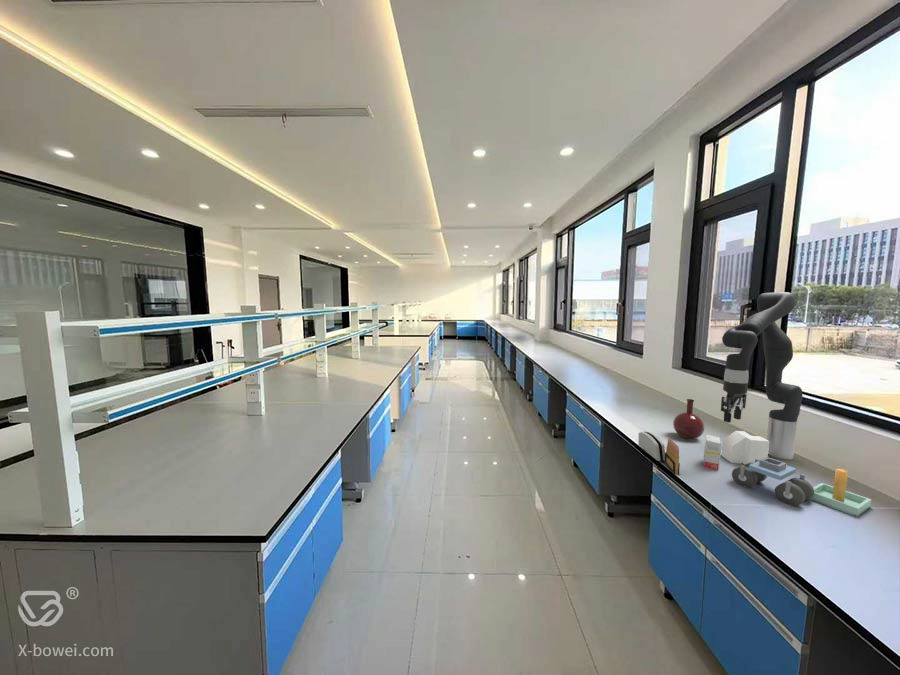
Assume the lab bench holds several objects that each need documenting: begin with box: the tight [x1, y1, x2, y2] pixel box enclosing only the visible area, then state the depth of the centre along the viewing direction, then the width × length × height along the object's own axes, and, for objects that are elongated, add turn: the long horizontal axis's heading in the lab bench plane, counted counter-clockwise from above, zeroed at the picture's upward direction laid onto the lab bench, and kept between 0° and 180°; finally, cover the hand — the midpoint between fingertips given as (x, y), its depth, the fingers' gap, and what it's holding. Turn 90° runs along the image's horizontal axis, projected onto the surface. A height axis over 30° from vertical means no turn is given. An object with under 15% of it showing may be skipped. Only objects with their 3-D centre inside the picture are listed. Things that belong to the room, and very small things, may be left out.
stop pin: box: [832, 468, 849, 503], centre depth 119 cm, size 3×3×11 cm
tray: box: [808, 482, 872, 518], centre depth 120 cm, size 12×12×3 cm
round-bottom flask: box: [672, 398, 705, 440], centre depth 176 cm, size 13×13×20 cm
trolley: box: [731, 456, 814, 507], centre depth 126 cm, size 12×20×12 cm, turn 27°
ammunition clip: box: [664, 437, 681, 476], centre depth 143 cm, size 11×2×12 cm, turn 166°
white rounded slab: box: [637, 431, 666, 462], centre depth 157 cm, size 17×5×10 cm, turn 178°
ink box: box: [703, 434, 722, 471], centre depth 147 cm, size 9×5×12 cm, turn 145°
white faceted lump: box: [721, 430, 770, 465], centre depth 150 cm, size 11×11×12 cm
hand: (732, 420), depth 140 cm, fingers open, 7 cm apart
